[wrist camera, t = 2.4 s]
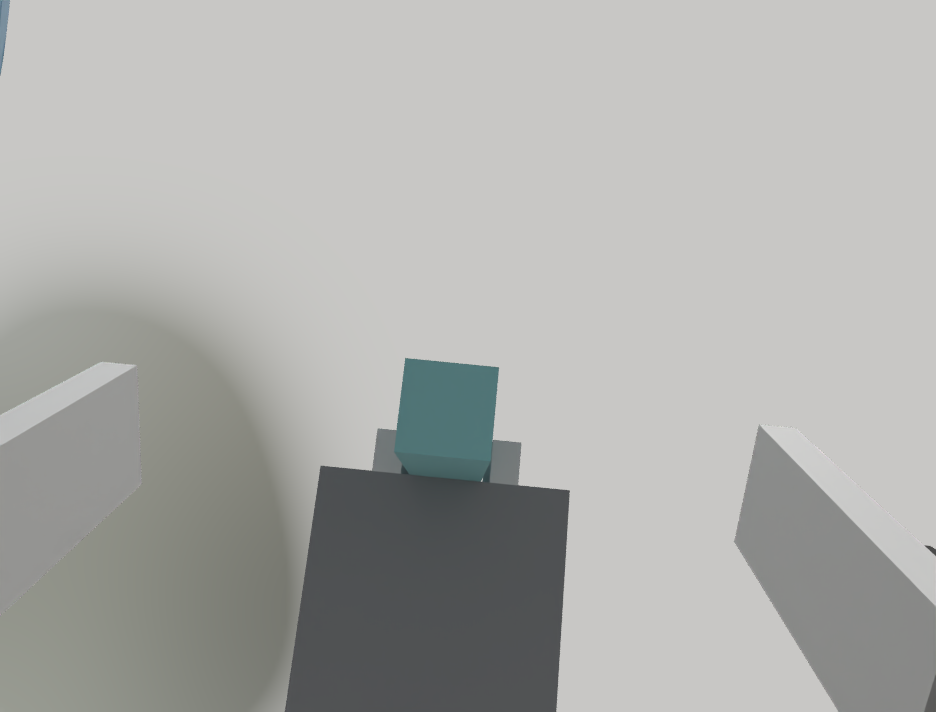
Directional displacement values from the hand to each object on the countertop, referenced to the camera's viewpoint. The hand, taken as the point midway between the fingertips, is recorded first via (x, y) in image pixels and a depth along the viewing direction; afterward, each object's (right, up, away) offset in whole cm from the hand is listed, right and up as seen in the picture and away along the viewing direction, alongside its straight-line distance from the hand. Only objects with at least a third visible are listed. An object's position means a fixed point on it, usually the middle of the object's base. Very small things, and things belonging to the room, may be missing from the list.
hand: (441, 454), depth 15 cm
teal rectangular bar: (-1, -5, +27) cm, 28 cm away
